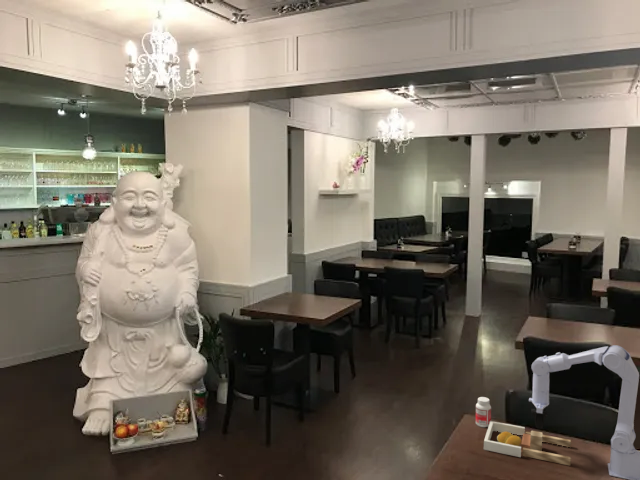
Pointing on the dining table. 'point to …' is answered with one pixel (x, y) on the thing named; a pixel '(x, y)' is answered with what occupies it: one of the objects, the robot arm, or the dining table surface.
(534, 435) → the two-tone t block
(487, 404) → the pill bottle
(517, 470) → the dining table surface
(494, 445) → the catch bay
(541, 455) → the slot rails
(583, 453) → the dining table surface
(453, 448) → the dining table surface
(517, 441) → the bread roll
